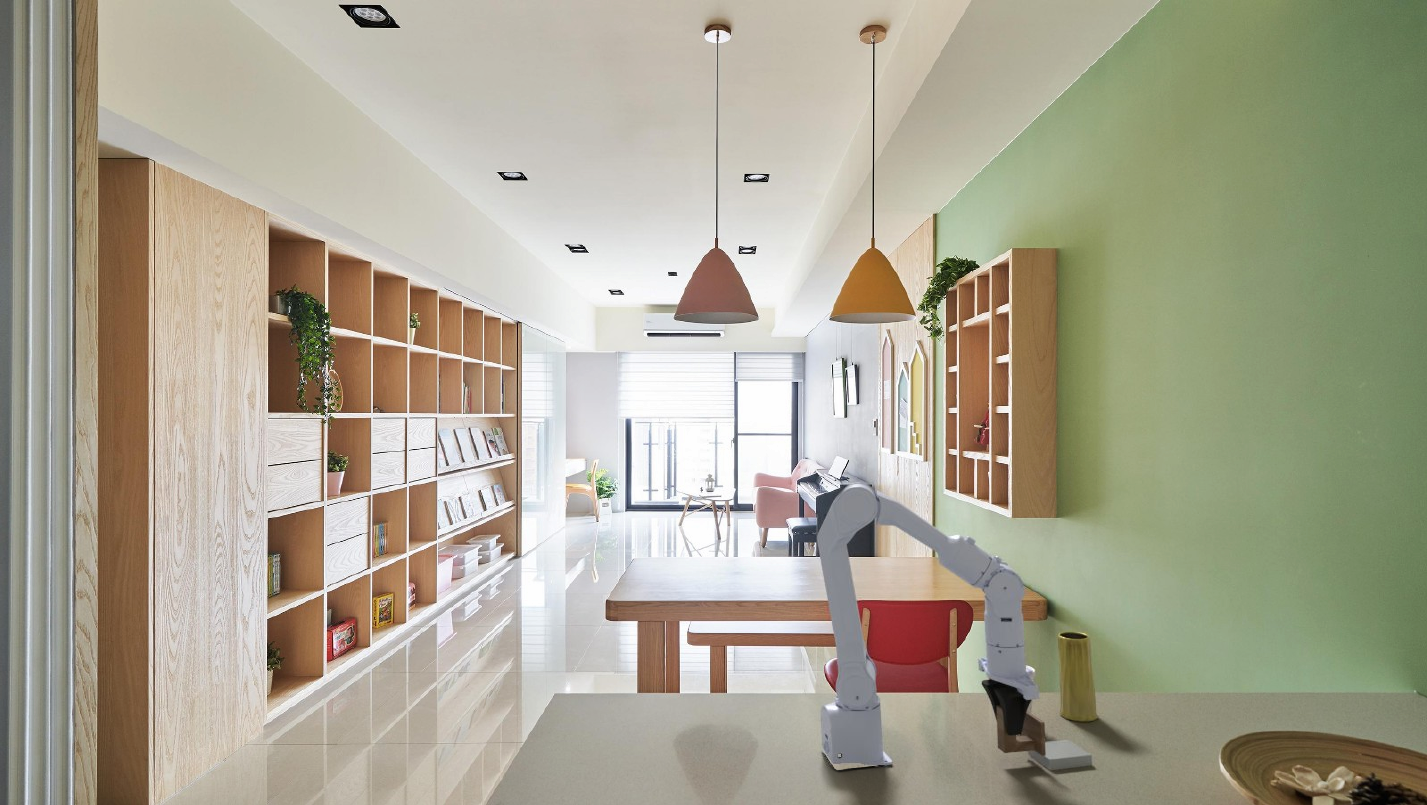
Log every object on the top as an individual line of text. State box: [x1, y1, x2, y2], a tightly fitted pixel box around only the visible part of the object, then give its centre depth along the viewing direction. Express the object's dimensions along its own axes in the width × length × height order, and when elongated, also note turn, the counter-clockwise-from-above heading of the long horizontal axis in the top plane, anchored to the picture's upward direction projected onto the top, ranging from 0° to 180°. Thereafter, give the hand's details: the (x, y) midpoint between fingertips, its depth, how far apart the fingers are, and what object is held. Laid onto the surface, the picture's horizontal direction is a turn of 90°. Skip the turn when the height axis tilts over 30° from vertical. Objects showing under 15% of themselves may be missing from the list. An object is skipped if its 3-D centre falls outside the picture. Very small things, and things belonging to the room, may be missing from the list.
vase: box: [1057, 631, 1099, 723], centre depth 136 cm, size 6×6×14 cm
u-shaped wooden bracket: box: [996, 705, 1046, 756], centre depth 119 cm, size 6×6×6 cm
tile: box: [1027, 739, 1093, 771], centre depth 119 cm, size 2×6×7 cm
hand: (1009, 730), depth 118 cm, fingers closed on u-shaped wooden bracket
